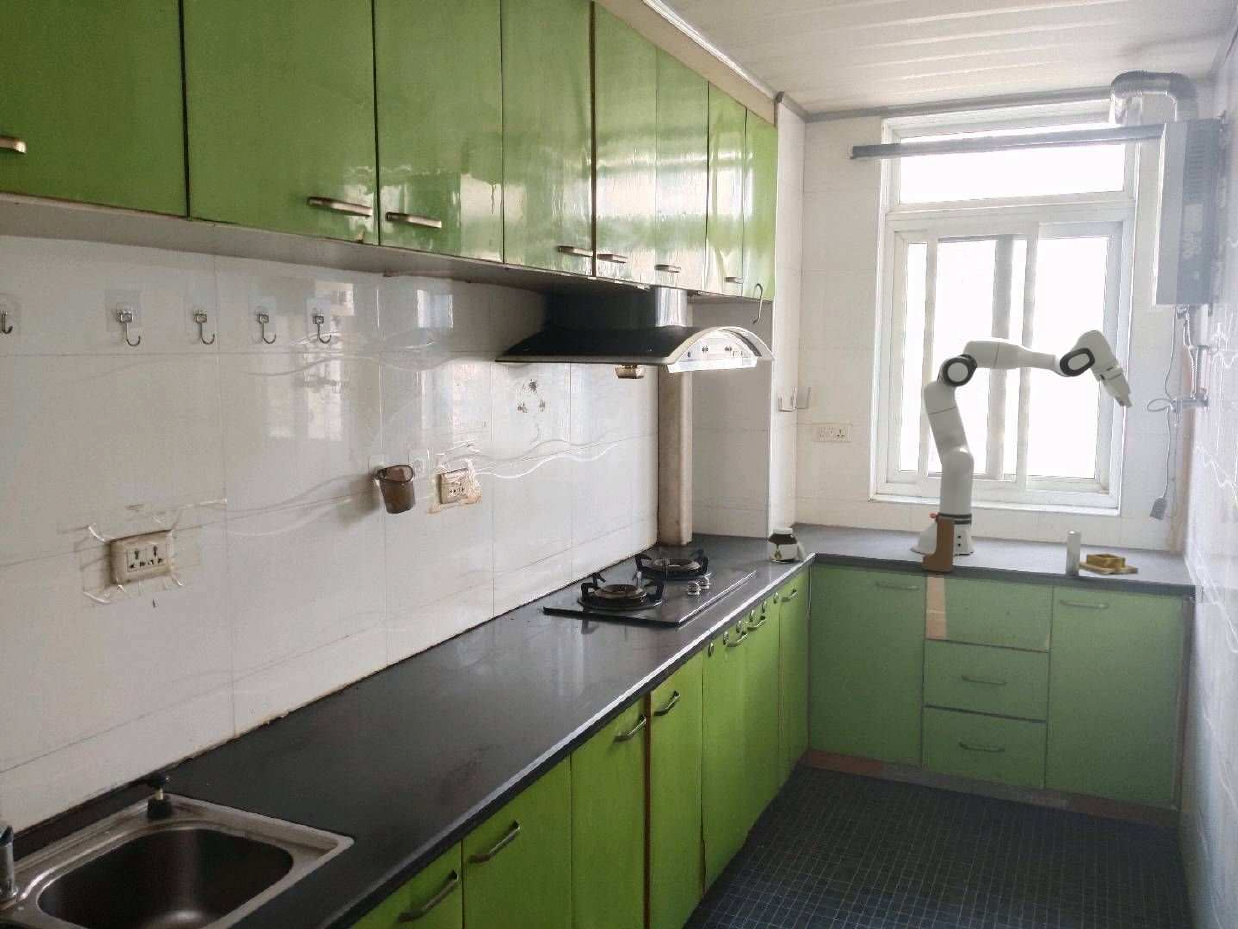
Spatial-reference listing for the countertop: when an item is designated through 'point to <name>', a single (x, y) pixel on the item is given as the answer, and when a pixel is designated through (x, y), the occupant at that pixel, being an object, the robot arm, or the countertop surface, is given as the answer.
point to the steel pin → (1073, 553)
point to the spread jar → (784, 546)
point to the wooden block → (942, 547)
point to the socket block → (1106, 564)
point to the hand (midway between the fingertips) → (1126, 406)
